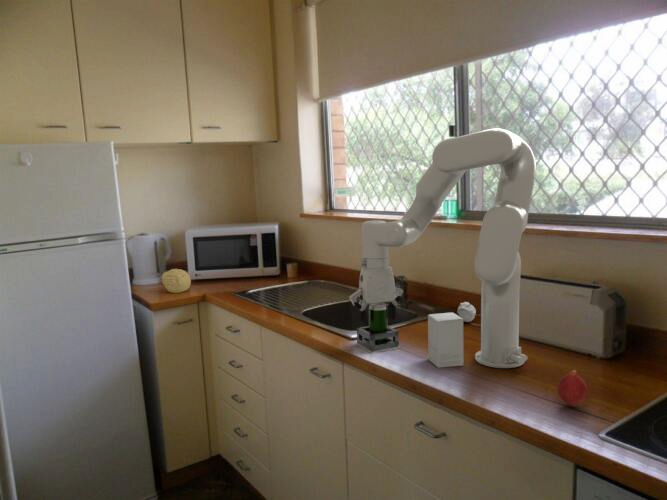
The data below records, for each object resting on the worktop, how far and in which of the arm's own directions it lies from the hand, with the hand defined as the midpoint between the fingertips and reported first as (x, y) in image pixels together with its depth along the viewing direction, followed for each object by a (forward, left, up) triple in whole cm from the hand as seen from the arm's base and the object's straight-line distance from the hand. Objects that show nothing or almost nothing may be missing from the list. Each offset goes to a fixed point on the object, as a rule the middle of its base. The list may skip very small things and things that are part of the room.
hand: (377, 320), depth 156 cm
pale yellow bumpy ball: (+115, +41, -8) cm, 123 cm away
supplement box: (-21, -9, -8) cm, 24 cm away
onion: (-56, -16, -8) cm, 59 cm away
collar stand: (0, 0, -8) cm, 8 cm away
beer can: (0, 0, -7) cm, 7 cm away
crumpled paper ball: (+7, -38, -8) cm, 39 cm away
